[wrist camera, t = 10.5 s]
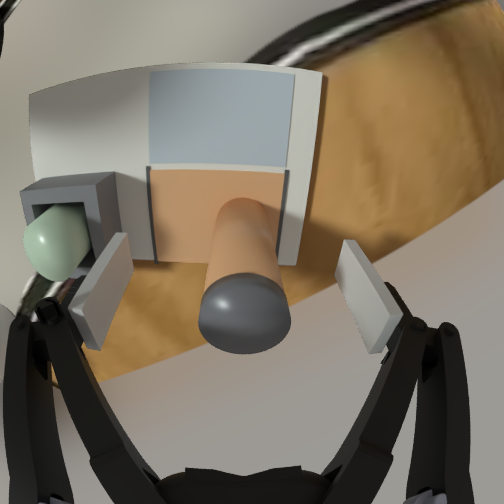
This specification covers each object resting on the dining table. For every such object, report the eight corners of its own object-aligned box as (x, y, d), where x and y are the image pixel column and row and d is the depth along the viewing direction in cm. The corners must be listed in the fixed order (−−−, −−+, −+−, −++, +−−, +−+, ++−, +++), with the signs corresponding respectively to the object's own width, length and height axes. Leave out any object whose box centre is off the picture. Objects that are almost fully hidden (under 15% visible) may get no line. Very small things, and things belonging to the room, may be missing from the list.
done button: (47, 199, 18) (16, 222, 14) (92, 196, 18) (63, 221, 14) (59, 250, 20) (34, 278, 16) (103, 252, 20) (81, 284, 17)
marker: (214, 197, 20) (193, 290, 11) (269, 196, 20) (296, 289, 11) (217, 245, 22) (203, 354, 13) (267, 244, 22) (286, 352, 13)
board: (33, 94, 14) (4, 98, 11) (320, 73, 16) (338, 67, 13) (56, 254, 23) (36, 276, 19) (294, 264, 24) (302, 292, 21)
